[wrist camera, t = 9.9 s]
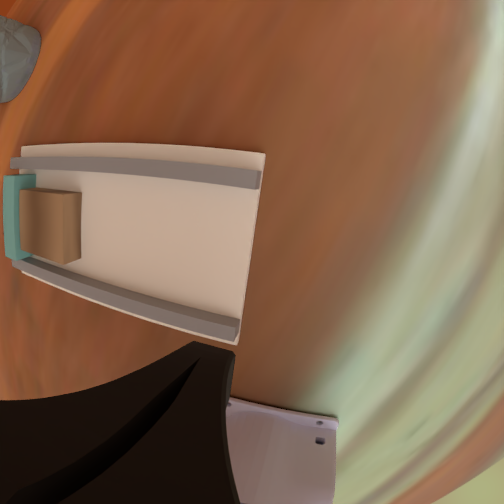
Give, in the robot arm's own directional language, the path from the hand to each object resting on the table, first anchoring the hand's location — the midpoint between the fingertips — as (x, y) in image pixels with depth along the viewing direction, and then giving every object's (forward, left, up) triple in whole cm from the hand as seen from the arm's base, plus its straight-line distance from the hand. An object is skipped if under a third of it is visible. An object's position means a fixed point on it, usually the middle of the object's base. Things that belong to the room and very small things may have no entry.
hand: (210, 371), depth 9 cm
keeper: (+17, -1, -9) cm, 19 cm away
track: (+12, -1, -10) cm, 16 cm away
